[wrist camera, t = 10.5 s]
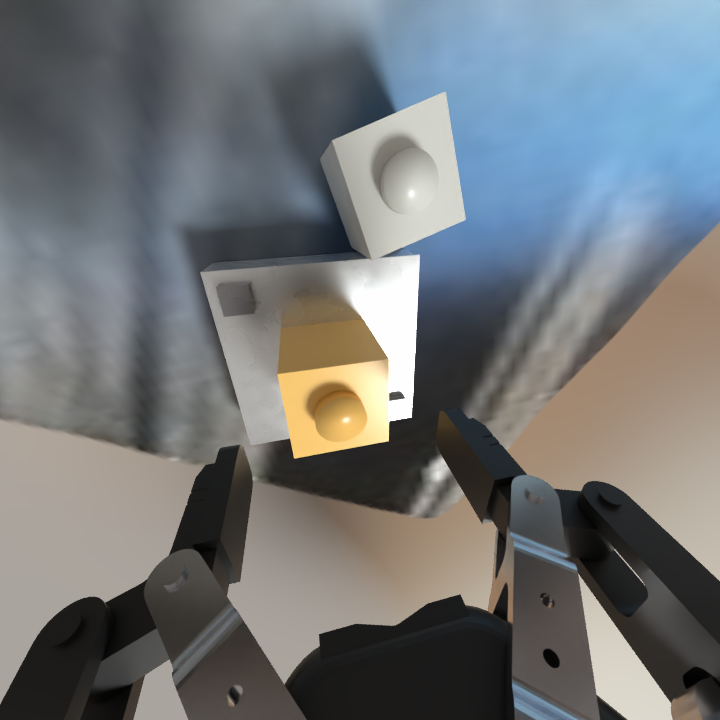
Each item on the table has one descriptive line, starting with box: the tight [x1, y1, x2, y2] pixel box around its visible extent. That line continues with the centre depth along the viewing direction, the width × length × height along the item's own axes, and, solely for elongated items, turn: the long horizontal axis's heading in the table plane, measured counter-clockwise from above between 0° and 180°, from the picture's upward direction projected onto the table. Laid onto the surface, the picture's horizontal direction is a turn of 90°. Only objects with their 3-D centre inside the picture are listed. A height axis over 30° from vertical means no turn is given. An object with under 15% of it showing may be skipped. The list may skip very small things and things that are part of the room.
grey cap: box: [320, 91, 466, 260], centre depth 15 cm, size 5×5×6 cm
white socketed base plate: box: [200, 248, 420, 445], centre depth 18 cm, size 12×12×7 cm
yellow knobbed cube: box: [277, 319, 389, 458], centre depth 16 cm, size 5×5×6 cm
